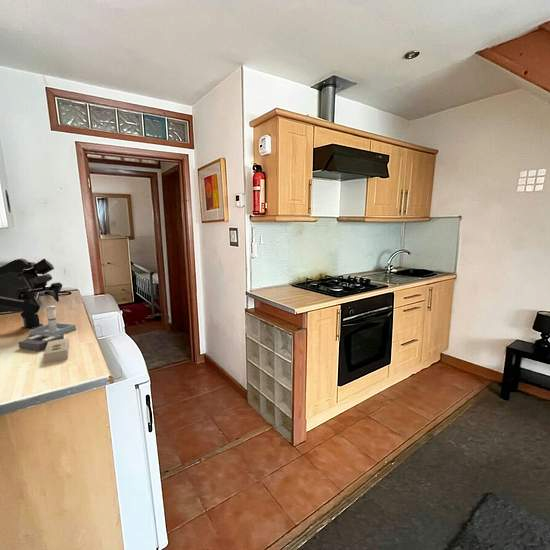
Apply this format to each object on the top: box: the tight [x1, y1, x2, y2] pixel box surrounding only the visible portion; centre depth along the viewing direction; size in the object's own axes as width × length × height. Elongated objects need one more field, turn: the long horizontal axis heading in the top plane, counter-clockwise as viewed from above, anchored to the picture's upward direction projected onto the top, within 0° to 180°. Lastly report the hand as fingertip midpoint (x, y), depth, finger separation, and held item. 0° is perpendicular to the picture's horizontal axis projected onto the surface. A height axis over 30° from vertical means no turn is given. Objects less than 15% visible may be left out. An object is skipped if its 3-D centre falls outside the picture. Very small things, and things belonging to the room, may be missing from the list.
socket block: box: [18, 333, 65, 352], centre depth 129 cm, size 11×11×3 cm
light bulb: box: [45, 304, 58, 332], centre depth 144 cm, size 4×4×12 cm
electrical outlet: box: [43, 337, 70, 364], centre depth 120 cm, size 7×4×18 cm
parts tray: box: [28, 322, 77, 337], centre depth 145 cm, size 14×12×2 cm
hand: (48, 303), depth 147 cm, fingers open, 9 cm apart
